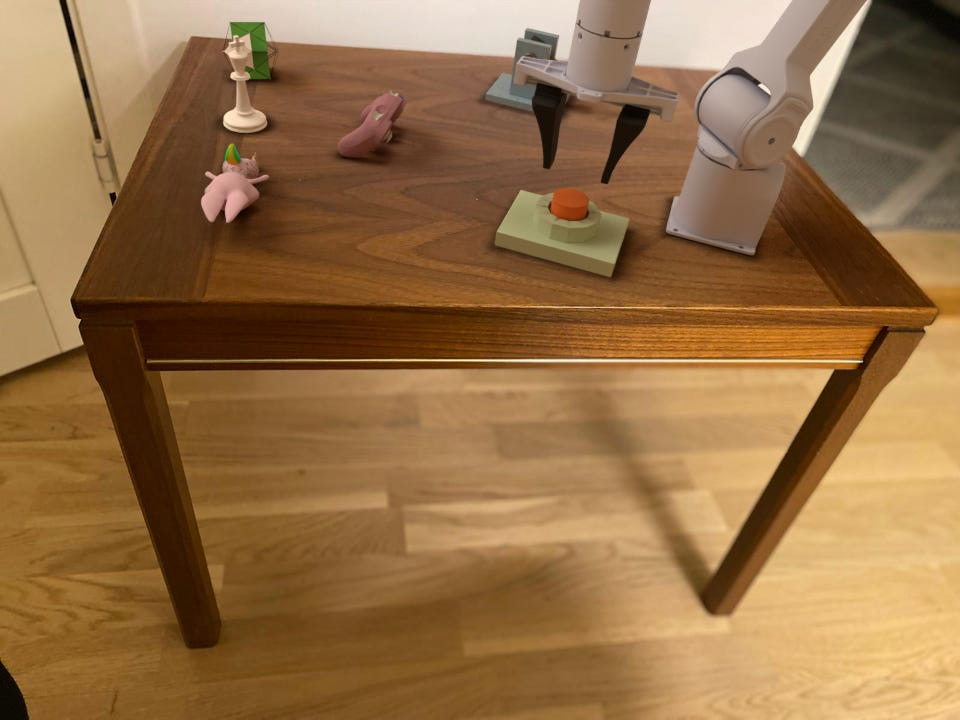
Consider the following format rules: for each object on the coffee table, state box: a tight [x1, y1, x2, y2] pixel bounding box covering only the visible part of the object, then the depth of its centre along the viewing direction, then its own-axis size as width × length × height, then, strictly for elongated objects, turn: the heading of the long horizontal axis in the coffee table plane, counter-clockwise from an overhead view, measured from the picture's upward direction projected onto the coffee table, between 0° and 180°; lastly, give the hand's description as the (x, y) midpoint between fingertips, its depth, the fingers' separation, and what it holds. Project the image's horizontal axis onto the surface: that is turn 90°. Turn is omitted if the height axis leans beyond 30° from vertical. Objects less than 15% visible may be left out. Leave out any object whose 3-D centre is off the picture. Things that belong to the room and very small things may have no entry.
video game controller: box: [337, 89, 408, 158], centre depth 85 cm, size 10×5×7 cm, turn 168°
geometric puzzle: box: [221, 21, 280, 80], centre depth 94 cm, size 7×7×8 cm
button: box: [550, 187, 590, 221], centre depth 74 cm, size 4×4×2 cm
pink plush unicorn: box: [200, 143, 270, 224], centre depth 73 cm, size 6×6×15 cm
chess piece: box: [222, 35, 268, 134], centre depth 84 cm, size 5×5×10 cm
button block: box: [494, 189, 630, 278], centre depth 76 cm, size 12×9×4 cm
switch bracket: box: [484, 27, 572, 113], centre depth 98 cm, size 10×8×8 cm
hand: (577, 171), depth 72 cm, fingers open, 5 cm apart
